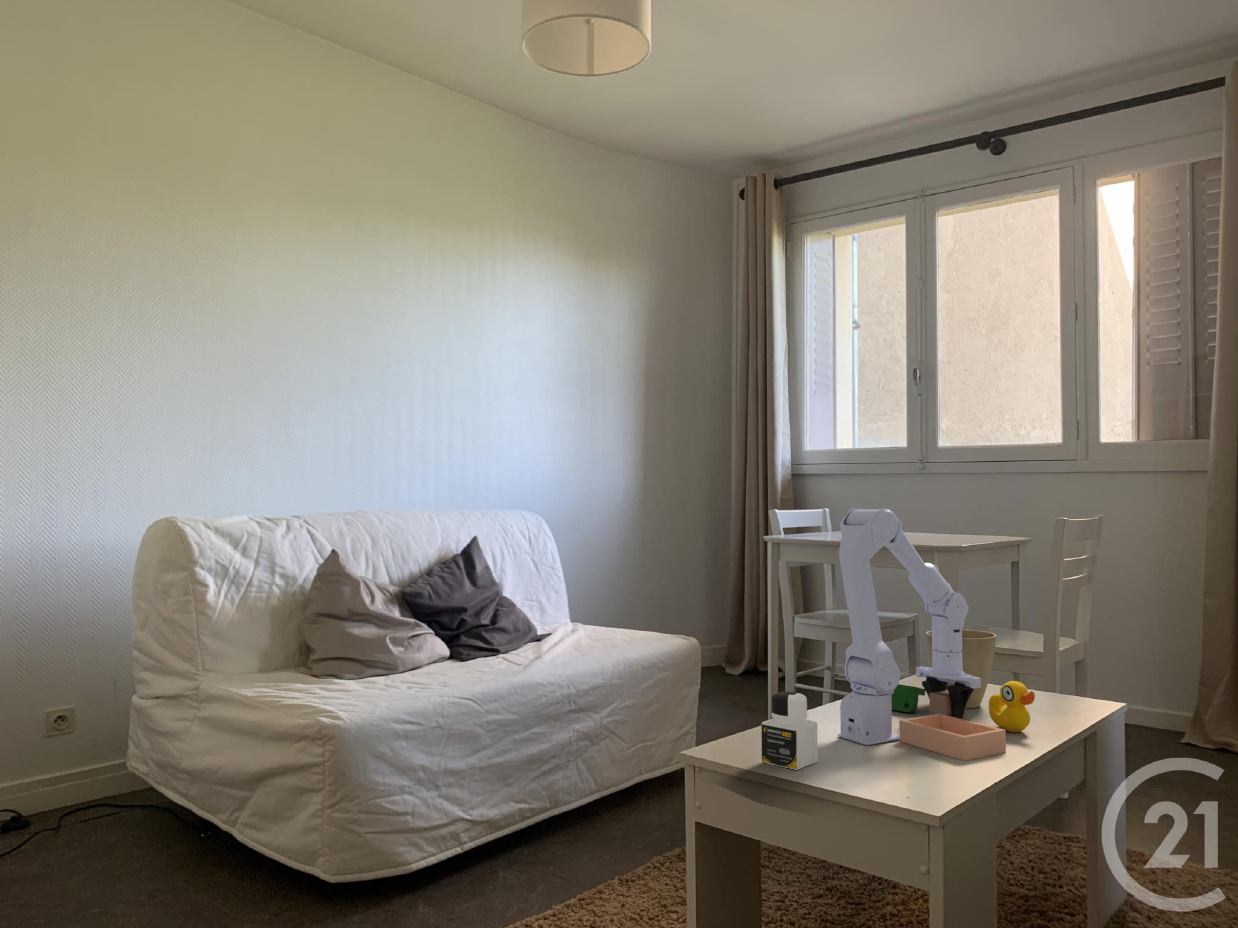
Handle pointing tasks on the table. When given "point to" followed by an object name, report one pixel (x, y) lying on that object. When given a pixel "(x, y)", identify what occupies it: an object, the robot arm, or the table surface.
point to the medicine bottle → (789, 733)
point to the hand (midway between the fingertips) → (948, 718)
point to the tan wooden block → (941, 704)
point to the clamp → (906, 698)
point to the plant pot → (974, 659)
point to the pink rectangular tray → (953, 736)
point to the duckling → (1011, 706)
